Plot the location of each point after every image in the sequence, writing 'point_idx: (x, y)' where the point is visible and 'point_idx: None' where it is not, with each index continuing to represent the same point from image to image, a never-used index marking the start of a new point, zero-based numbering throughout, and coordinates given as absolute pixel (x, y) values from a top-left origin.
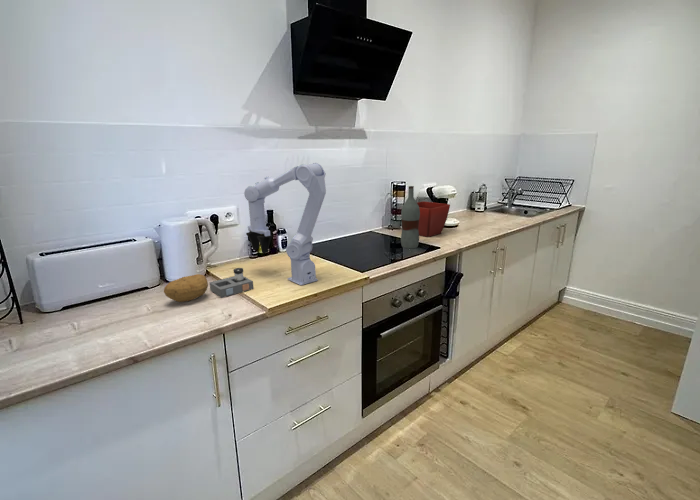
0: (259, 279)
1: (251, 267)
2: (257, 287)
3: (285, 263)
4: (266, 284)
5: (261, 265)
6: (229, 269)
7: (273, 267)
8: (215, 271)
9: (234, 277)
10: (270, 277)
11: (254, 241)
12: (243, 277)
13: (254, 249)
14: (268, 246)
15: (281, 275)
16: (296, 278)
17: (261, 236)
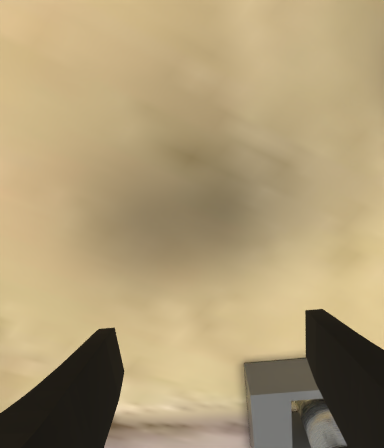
0: (267, 286)
1: (26, 246)
2: (370, 333)
3: (54, 11)
4: (365, 286)
5: (14, 182)
6: (3, 348)
7: (101, 133)
8: (3, 403)
9: (272, 428)
10: (278, 228)
11: (85, 443)
12: (307, 399)
13: (123, 370)
14: (372, 349)
15: (291, 160)
16: None
17: None
